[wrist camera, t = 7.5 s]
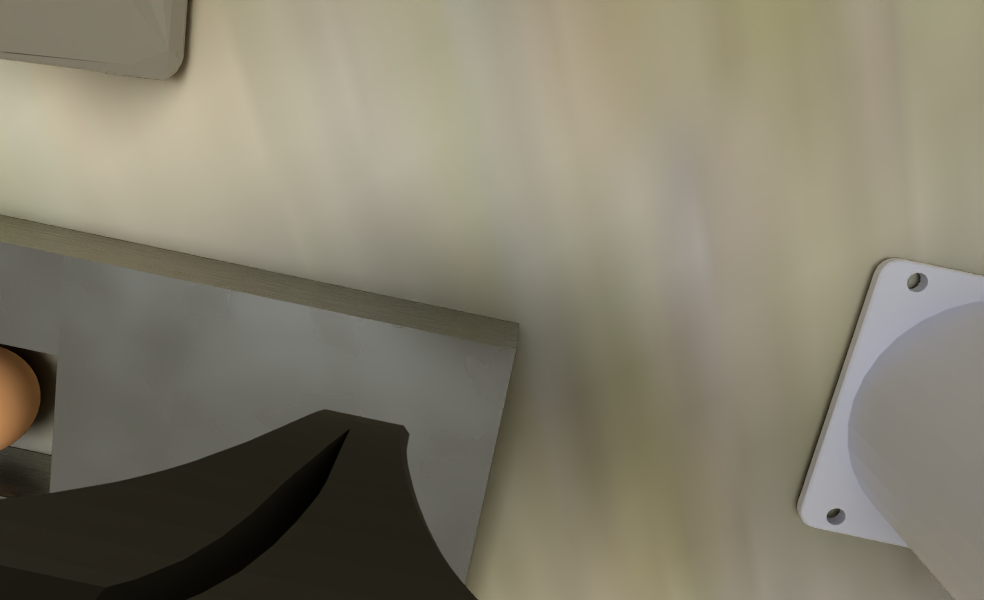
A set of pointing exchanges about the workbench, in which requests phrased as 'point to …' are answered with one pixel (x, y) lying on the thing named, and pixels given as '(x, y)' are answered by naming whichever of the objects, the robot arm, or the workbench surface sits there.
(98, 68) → the electrical switch
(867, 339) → the robot arm
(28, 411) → the ball
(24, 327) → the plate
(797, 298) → the workbench surface
